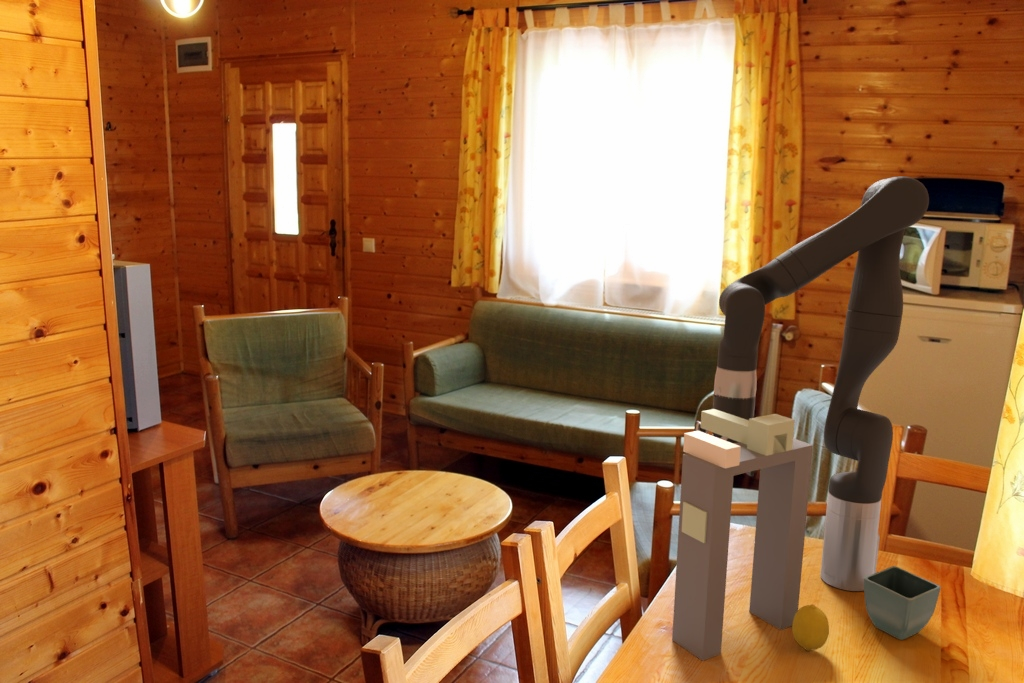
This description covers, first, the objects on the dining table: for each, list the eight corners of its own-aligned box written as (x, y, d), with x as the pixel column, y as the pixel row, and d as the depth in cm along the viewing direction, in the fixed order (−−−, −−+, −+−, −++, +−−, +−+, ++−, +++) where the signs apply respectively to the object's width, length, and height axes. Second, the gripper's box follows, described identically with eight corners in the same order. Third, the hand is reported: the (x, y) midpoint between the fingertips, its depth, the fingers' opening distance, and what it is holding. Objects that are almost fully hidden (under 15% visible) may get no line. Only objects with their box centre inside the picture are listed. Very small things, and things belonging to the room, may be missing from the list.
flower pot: (904, 650, 136) (910, 599, 134) (857, 625, 143) (862, 577, 142) (936, 635, 141) (942, 586, 139) (888, 612, 148) (894, 565, 146)
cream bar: (697, 448, 135) (698, 430, 134) (739, 465, 127) (740, 446, 127) (683, 451, 133) (684, 433, 133) (725, 468, 126) (726, 449, 125)
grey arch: (765, 605, 149) (779, 433, 143) (796, 623, 144) (812, 444, 137) (670, 640, 138) (681, 454, 132) (701, 661, 132) (713, 468, 126)
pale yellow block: (719, 424, 148) (721, 396, 147) (792, 449, 135) (794, 419, 134) (694, 429, 145) (695, 401, 144) (766, 455, 132) (768, 425, 131)
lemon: (829, 662, 132) (833, 615, 131) (792, 657, 134) (796, 611, 132) (823, 643, 138) (828, 598, 136) (788, 639, 139) (792, 594, 137)
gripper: (761, 386, 160) (754, 468, 163) (690, 387, 158) (684, 470, 161) (780, 396, 153) (772, 481, 156) (706, 396, 151) (700, 483, 153)
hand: (728, 475), depth 158 cm, fingers open, 8 cm apart
